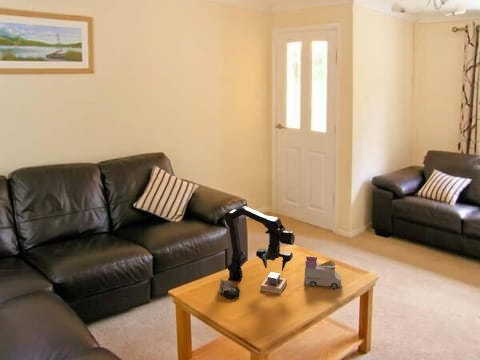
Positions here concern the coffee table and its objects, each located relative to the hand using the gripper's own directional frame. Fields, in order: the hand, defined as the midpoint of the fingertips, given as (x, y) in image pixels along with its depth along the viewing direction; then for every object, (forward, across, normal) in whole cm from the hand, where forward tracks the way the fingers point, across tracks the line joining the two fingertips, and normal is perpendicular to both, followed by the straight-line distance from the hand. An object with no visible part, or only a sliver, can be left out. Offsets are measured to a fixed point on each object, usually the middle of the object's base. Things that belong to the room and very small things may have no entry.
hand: (274, 269), depth 249 cm
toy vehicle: (+10, +24, +11) cm, 28 cm away
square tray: (+10, 0, 0) cm, 10 cm away
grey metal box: (+9, 0, 0) cm, 9 cm away
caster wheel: (+10, -19, -16) cm, 27 cm away
